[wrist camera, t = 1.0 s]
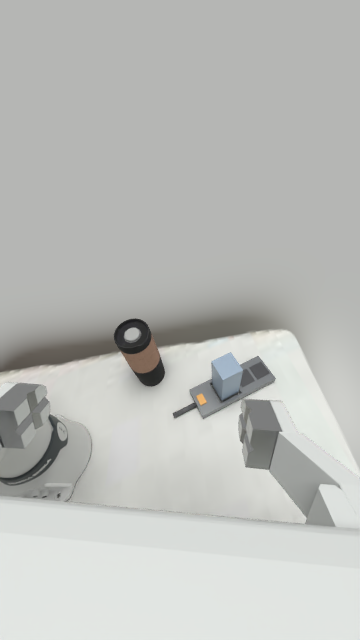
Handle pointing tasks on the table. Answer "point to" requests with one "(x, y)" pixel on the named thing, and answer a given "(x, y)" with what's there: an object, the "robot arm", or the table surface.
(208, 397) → the power strip
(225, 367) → the blue rectangular block
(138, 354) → the travel mug
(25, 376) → the table surface
